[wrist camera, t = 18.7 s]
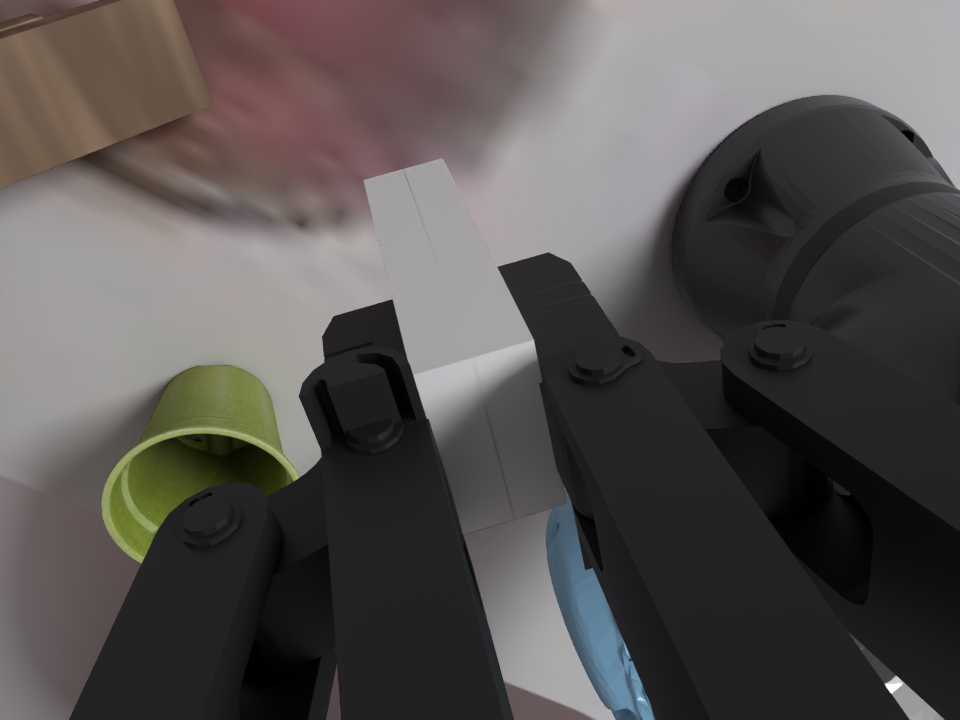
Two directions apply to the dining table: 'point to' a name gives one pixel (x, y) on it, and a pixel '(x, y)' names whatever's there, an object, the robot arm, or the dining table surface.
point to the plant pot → (194, 452)
